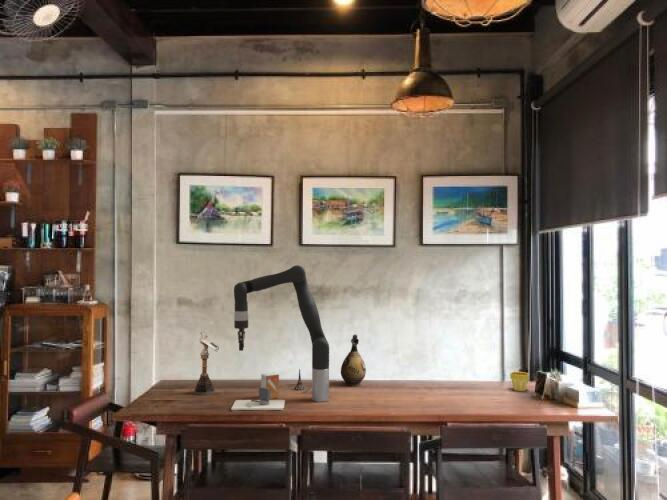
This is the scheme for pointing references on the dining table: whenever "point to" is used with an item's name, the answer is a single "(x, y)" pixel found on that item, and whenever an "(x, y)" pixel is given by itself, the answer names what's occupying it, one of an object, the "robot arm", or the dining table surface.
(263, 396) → the tuning knob
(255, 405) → the gauge board
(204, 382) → the pedestal telescope
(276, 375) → the small box
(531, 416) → the dining table surface
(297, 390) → the eiffel tower figurine
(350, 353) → the ceramic jug
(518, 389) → the plant pot
